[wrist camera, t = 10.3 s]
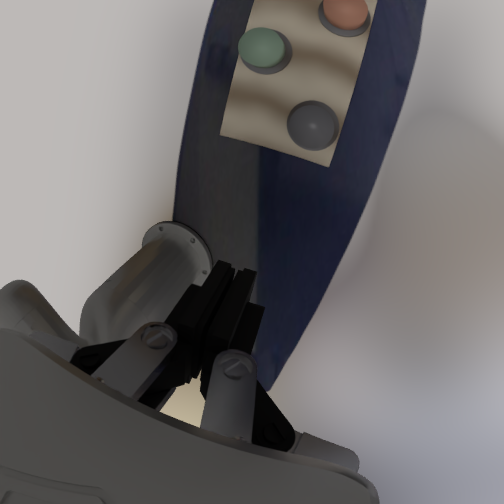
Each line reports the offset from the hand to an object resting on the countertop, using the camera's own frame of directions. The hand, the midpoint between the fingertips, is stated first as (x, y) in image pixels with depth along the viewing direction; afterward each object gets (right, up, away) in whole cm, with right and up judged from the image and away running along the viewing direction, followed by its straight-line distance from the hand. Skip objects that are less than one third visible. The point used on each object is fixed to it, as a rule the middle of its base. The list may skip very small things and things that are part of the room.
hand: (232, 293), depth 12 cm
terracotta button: (+10, +26, +7) cm, 29 cm away
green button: (+2, +23, +11) cm, 25 cm away
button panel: (+6, +23, +14) cm, 28 cm away
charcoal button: (+7, +15, +14) cm, 22 cm away
